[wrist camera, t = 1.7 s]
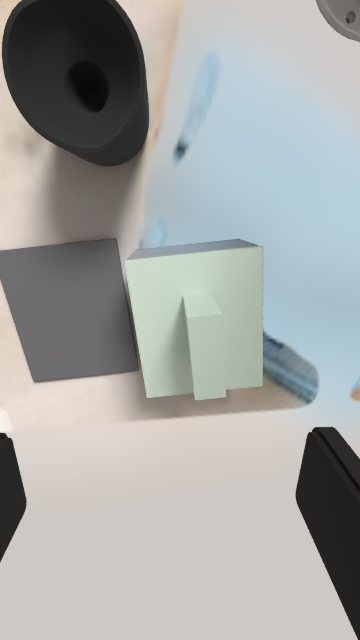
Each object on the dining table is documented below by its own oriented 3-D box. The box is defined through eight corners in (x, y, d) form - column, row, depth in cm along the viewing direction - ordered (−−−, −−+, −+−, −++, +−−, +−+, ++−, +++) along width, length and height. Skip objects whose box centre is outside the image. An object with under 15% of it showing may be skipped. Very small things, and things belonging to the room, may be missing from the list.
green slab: (254, 244, 27) (291, 256, 19) (255, 373, 32) (284, 426, 24) (128, 257, 27) (110, 275, 19) (148, 384, 32) (141, 441, 24)
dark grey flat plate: (116, 238, 32) (115, 238, 32) (138, 368, 38) (138, 370, 38) (-6, 251, 32) (-9, 251, 32) (35, 379, 38) (33, 381, 38)
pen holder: (127, 188, 31) (109, 177, 21) (43, 138, 29) (-17, 101, 19) (169, 98, 28) (170, 39, 19) (80, 35, 26) (30, -65, 17)
